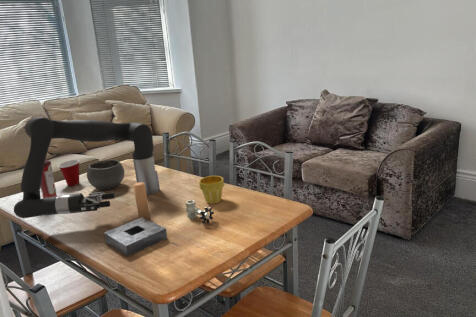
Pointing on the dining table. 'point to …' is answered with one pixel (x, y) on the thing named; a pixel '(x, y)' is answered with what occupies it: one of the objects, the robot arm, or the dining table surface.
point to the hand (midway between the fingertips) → (112, 199)
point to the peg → (141, 200)
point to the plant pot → (212, 188)
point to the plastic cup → (70, 172)
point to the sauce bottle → (48, 181)
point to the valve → (198, 211)
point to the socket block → (135, 236)
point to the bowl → (105, 174)
